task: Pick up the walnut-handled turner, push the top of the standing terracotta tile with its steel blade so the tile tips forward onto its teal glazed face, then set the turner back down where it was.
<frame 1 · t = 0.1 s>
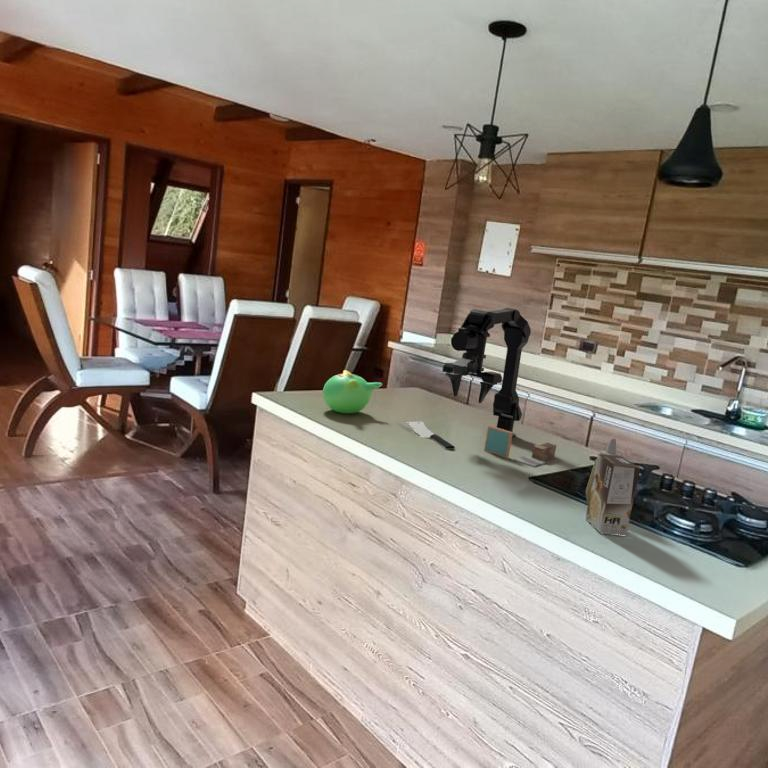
hand: (467, 399, 199), 15 cm above the table, tool pointing down, fingers open, 9 cm apart
turner: (542, 458, 199), on the table
tile: (498, 441, 195), point 4 cm above the table
toy bird: (345, 413, 224), on the table
coffee box: (604, 528, 145), on the table
kitchen cleaver: (424, 437, 207), on the table
squeeze bottle: (599, 509, 157), on the table
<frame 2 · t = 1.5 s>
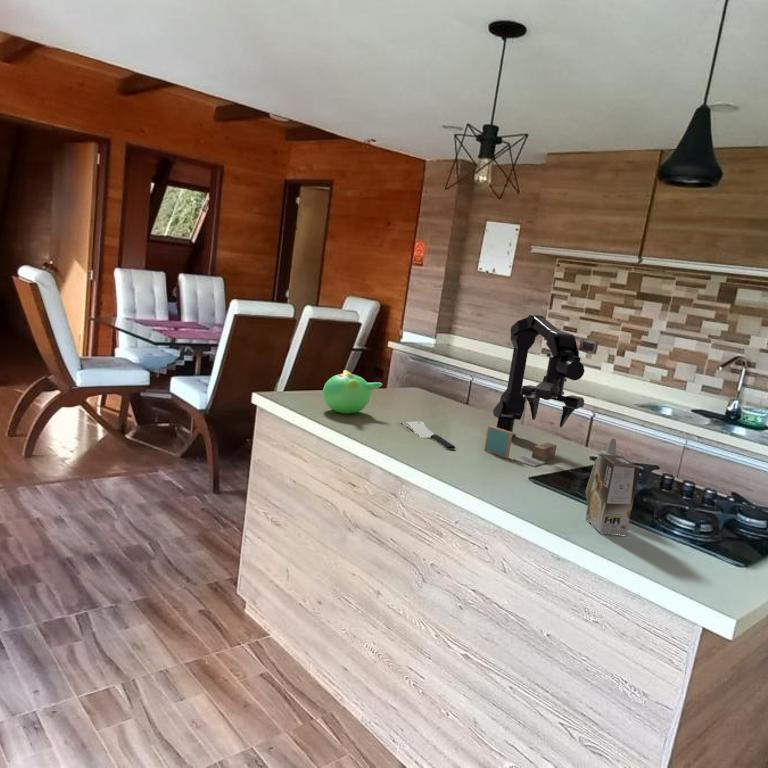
hand: (547, 423, 196), 11 cm above the table, tool pointing down, fingers open, 9 cm apart
nothing on the table moved.
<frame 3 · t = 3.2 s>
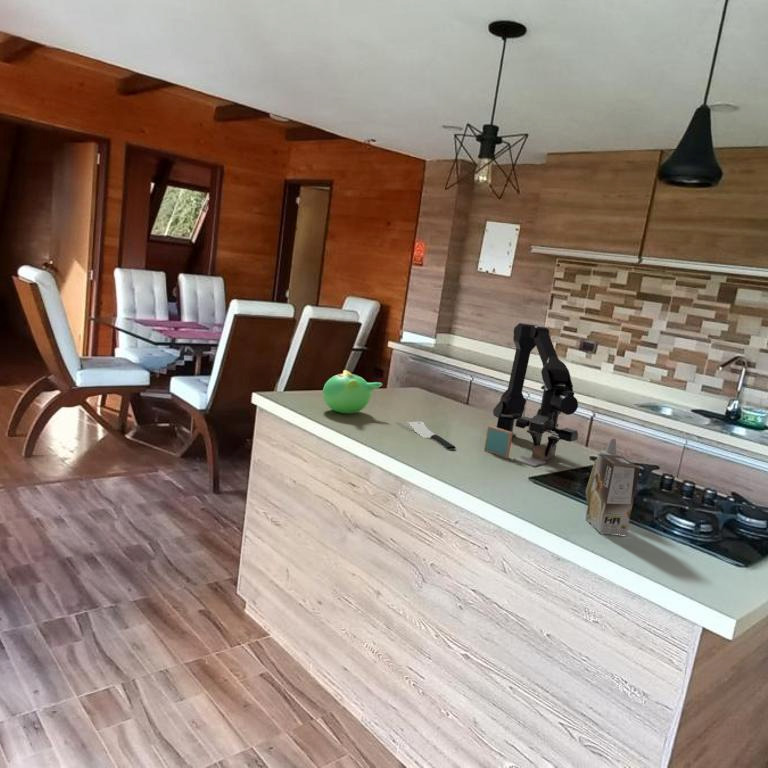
hand: (541, 455, 198), 1 cm above the table, tool pointing down, fingers closed on turner, 3 cm apart
turner: (543, 457, 199), on the table, touching gripper
everything else where it was.
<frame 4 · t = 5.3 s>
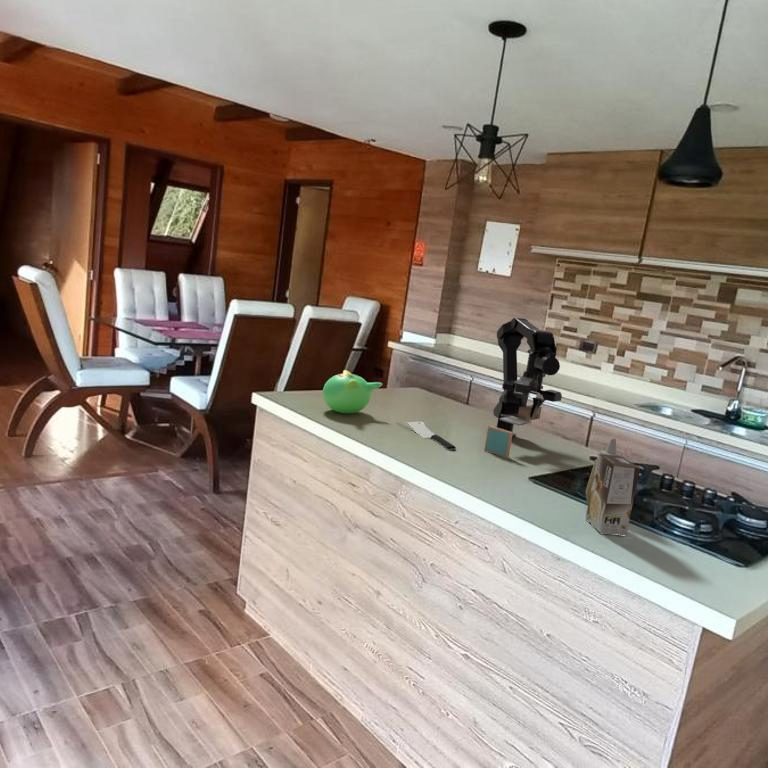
hand: (526, 416, 207), 11 cm above the table, tool pointing down, fingers closed on turner, 3 cm apart
turner: (528, 418, 208), point 10 cm above the table, touching gripper
everything else where it was.
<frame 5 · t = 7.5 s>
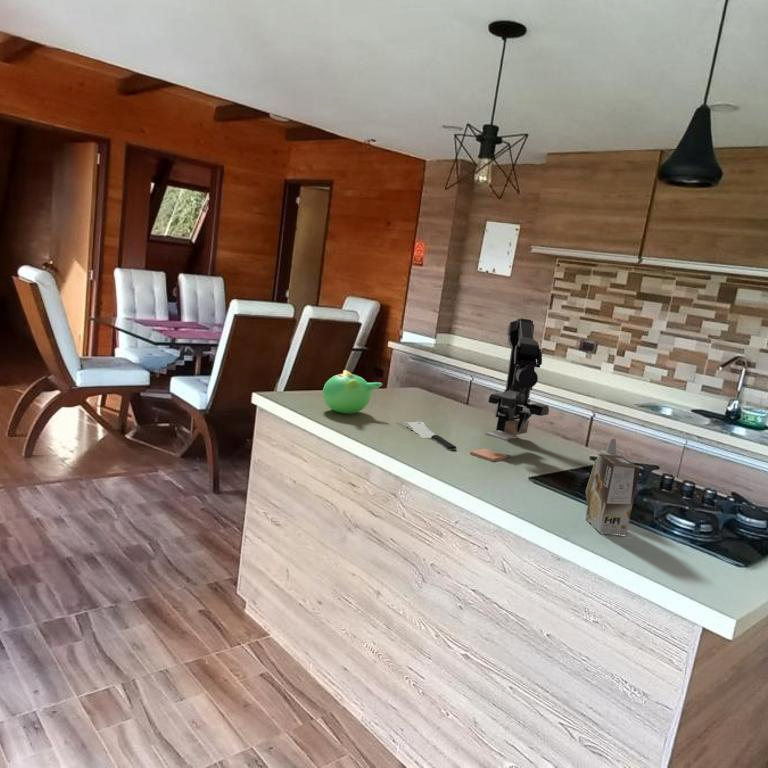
hand: (513, 430, 202), 7 cm above the table, tool pointing down, fingers closed on turner, 3 cm apart
turner: (515, 433, 203), point 6 cm above the table, touching gripper
tile: (488, 455, 192), on the table, tilted 90°
everything else where it was.
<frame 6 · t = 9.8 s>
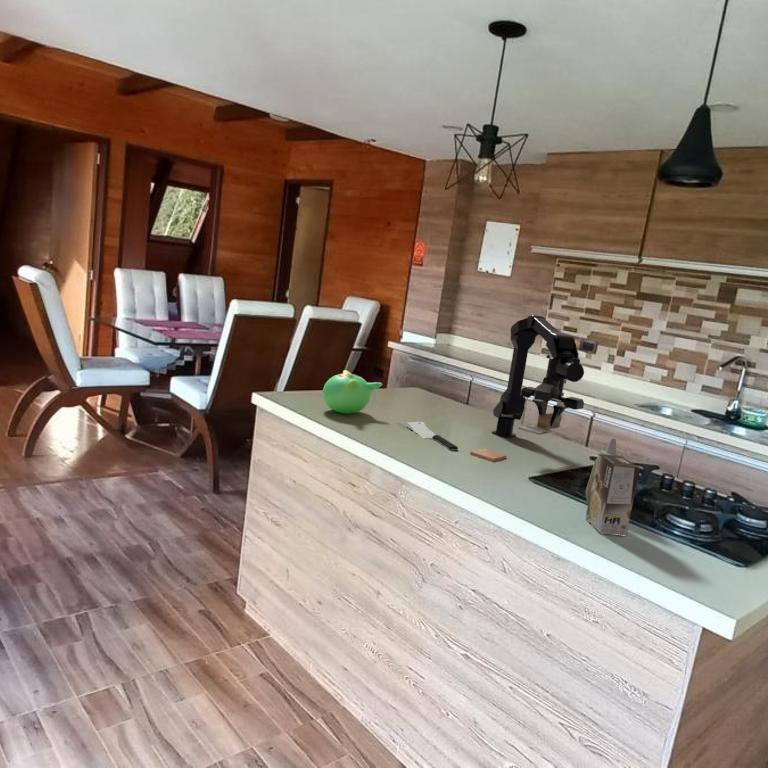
hand: (546, 424, 196), 11 cm above the table, tool pointing down, fingers closed on turner, 3 cm apart
turner: (548, 427, 197), point 10 cm above the table, touching gripper
everything else where it was.
when the fingers open (2 cm above the table, at t = 11.5 s): turner drops 2 cm, on the table.
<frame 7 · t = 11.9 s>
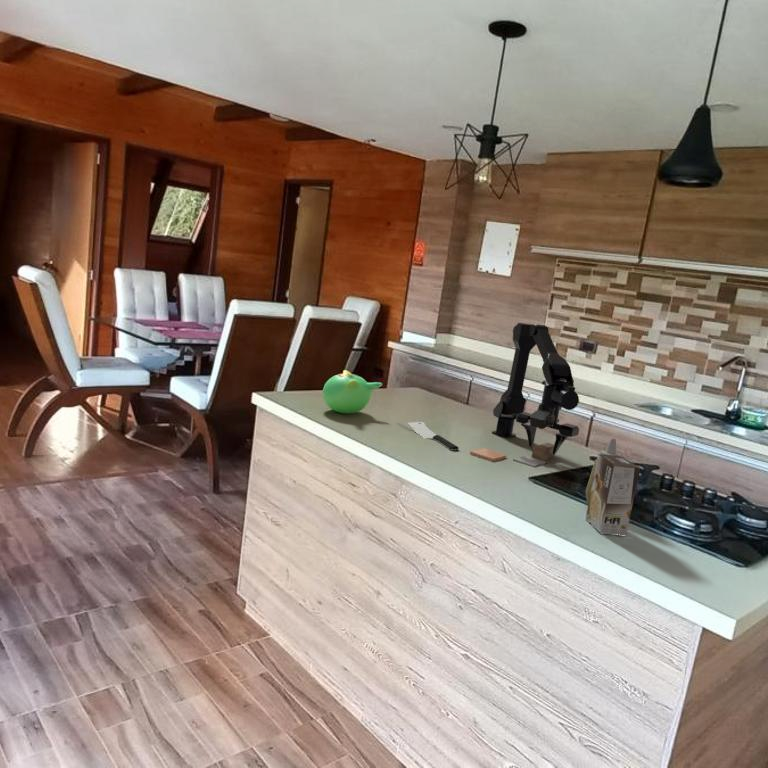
hand: (542, 450, 197), 2 cm above the table, tool pointing down, fingers open, 8 cm apart
turner: (542, 458, 199), on the table
everything else where it was.
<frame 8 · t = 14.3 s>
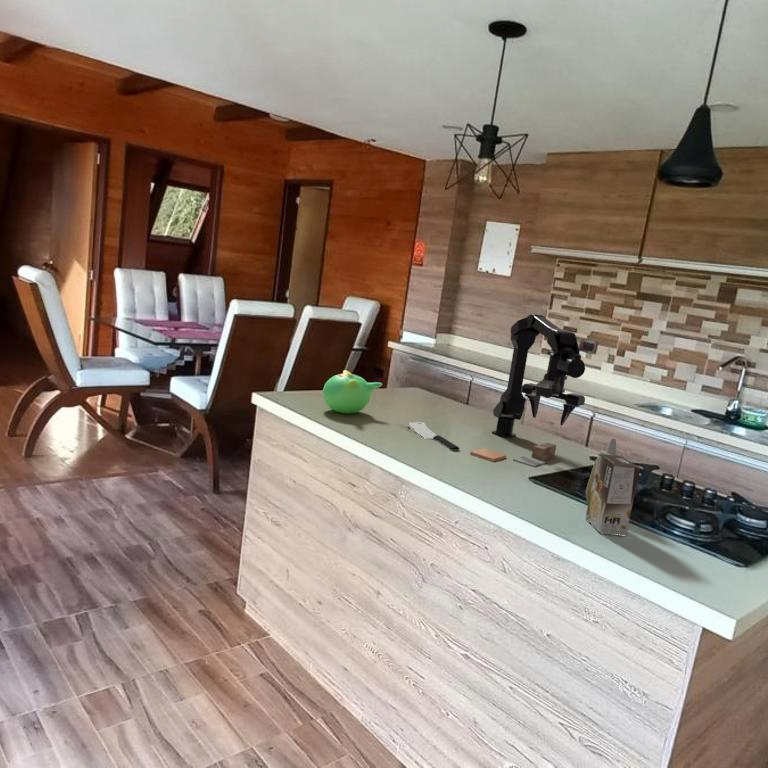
hand: (547, 421, 196), 12 cm above the table, tool pointing down, fingers open, 9 cm apart
at the end: tile tilted 90°; tile 0.0 cm from the target spot, on the table; turner touching table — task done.
